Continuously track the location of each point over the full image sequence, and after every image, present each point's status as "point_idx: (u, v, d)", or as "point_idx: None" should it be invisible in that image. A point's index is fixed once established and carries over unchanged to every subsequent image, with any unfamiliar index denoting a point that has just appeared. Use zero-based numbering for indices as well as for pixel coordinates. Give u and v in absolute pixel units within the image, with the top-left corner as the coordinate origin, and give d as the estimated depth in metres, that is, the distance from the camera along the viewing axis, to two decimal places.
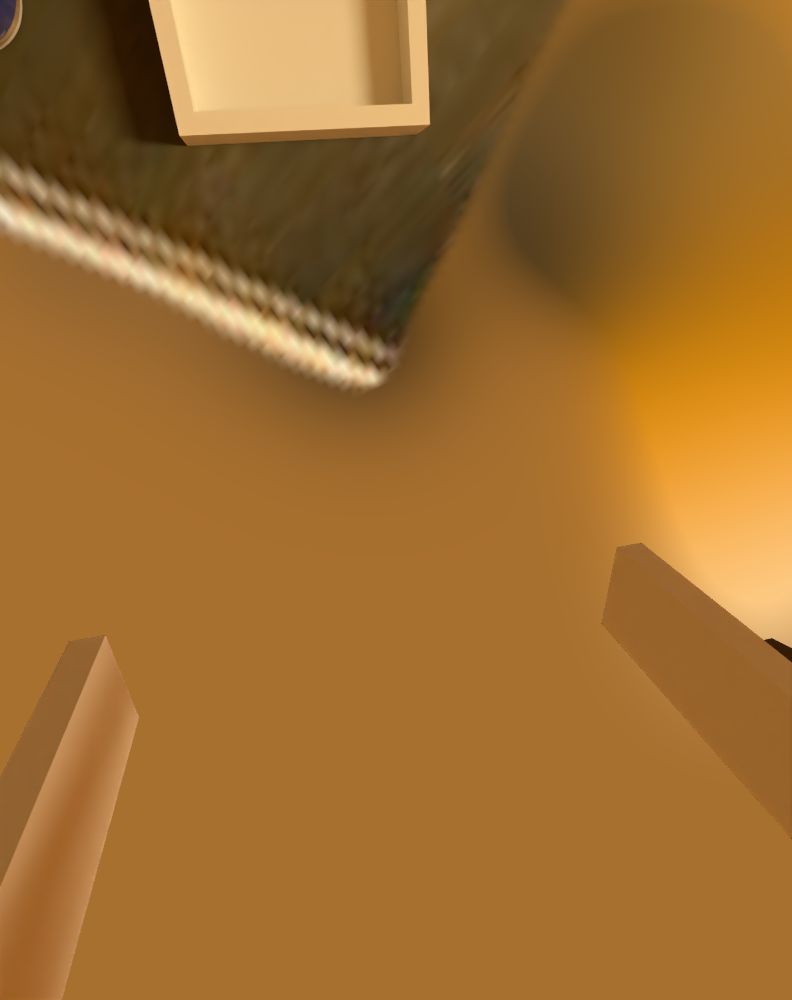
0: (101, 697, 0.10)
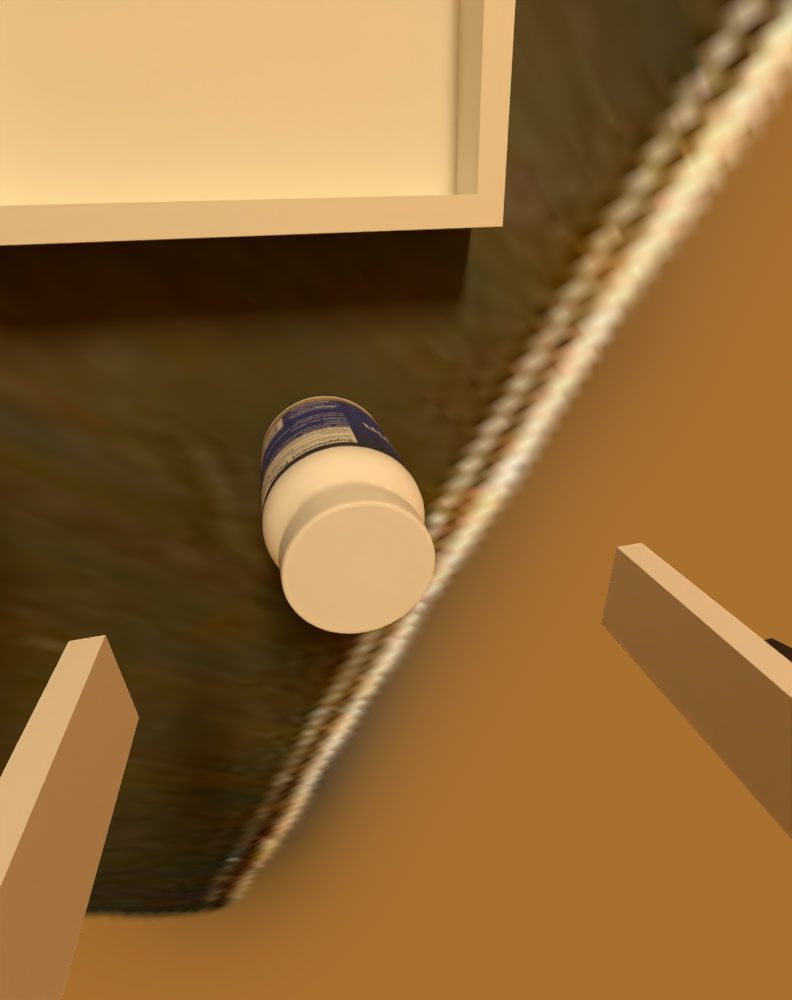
0: (101, 697, 0.10)
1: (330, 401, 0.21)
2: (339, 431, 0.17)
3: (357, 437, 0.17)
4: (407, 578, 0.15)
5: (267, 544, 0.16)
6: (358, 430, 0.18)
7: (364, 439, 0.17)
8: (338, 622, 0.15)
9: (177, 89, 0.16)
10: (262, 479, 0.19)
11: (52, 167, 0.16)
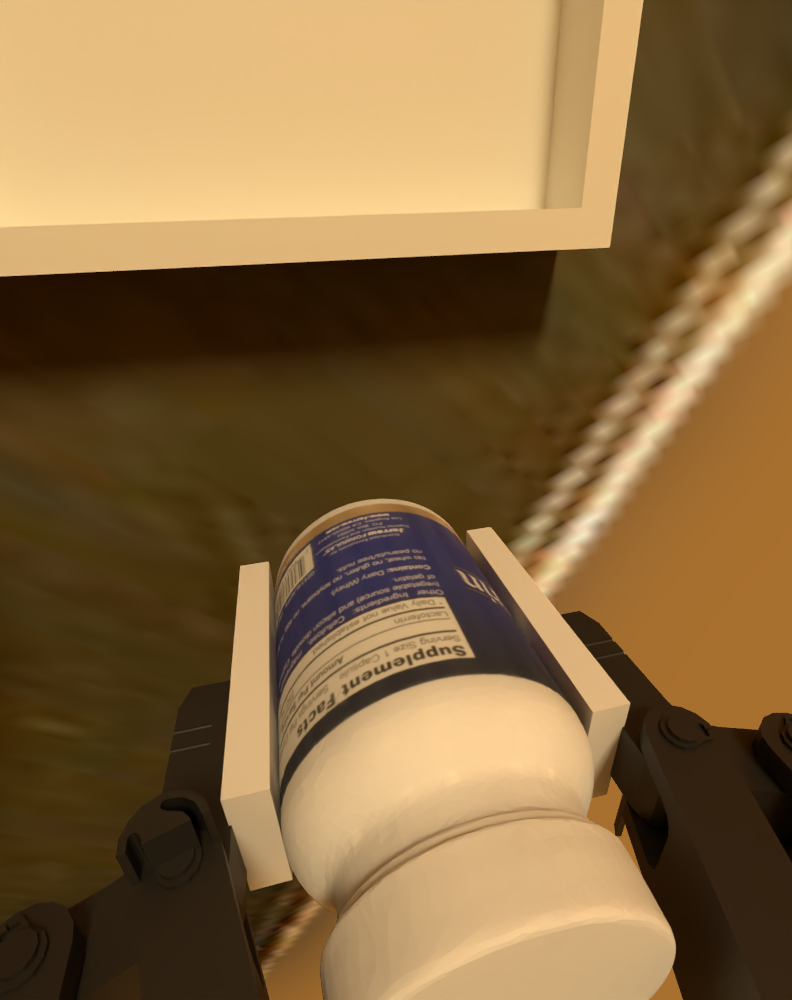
0: (273, 609, 0.13)
1: (391, 515, 0.12)
2: (430, 617, 0.09)
3: (467, 633, 0.09)
4: None
5: (291, 867, 0.08)
6: (460, 604, 0.09)
7: (483, 638, 0.09)
8: None
9: (209, 81, 0.12)
10: (279, 678, 0.10)
11: (53, 179, 0.13)
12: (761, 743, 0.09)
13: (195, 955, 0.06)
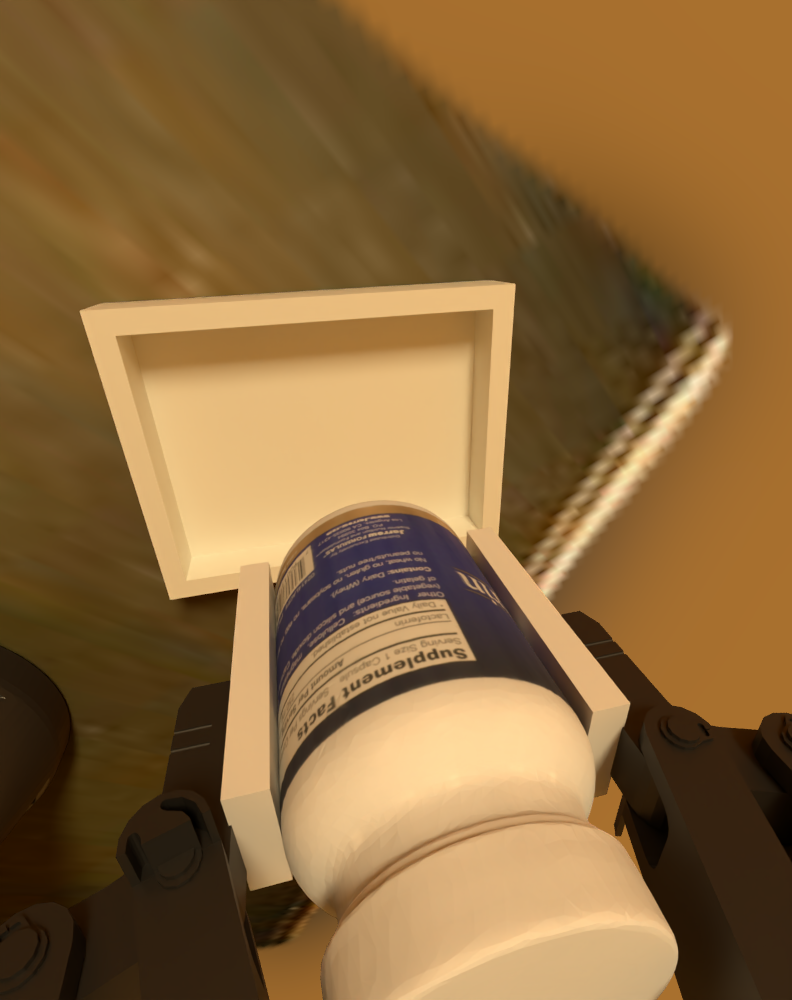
0: (273, 609, 0.13)
1: (391, 516, 0.12)
2: (431, 619, 0.09)
3: (468, 635, 0.09)
4: None
5: (291, 871, 0.08)
6: (461, 607, 0.09)
7: (484, 641, 0.09)
8: None
9: (306, 489, 0.27)
10: (279, 681, 0.10)
11: (233, 532, 0.27)
12: (761, 743, 0.09)
13: (195, 955, 0.06)
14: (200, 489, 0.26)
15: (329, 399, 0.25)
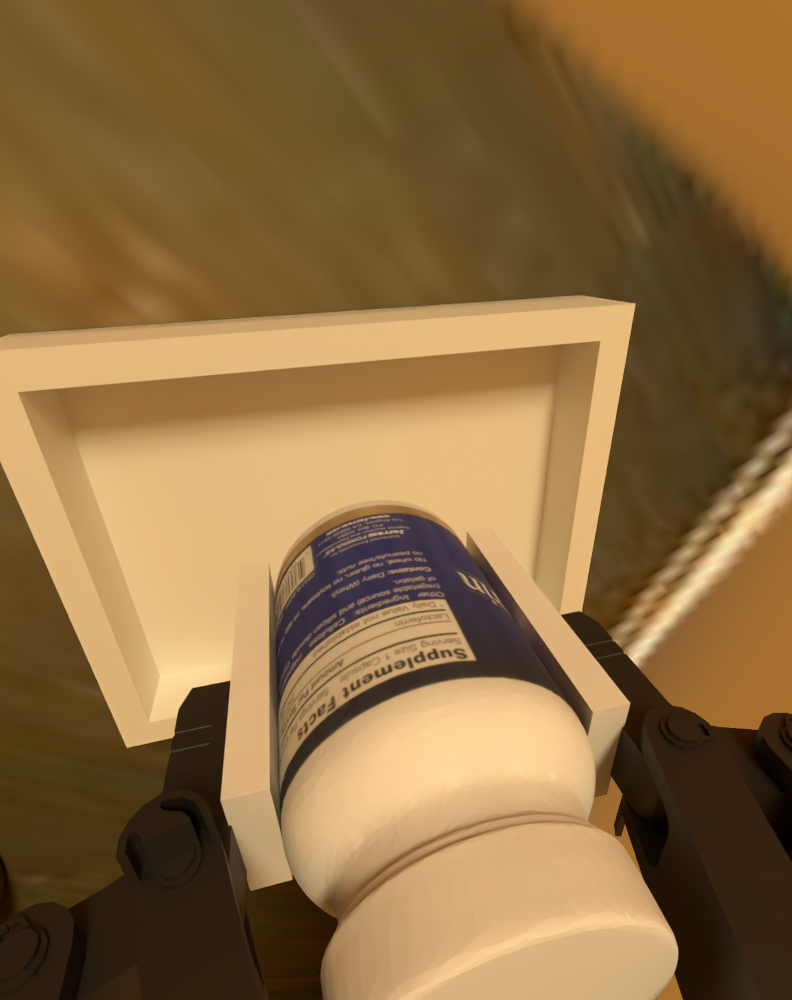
0: (273, 609, 0.13)
1: (391, 516, 0.12)
2: (431, 619, 0.09)
3: (468, 636, 0.09)
4: None
5: (292, 871, 0.08)
6: (461, 607, 0.09)
7: (484, 641, 0.09)
8: None
9: None
10: (279, 681, 0.10)
11: (216, 643, 0.20)
12: (761, 743, 0.09)
13: (195, 955, 0.06)
14: (169, 591, 0.18)
15: (352, 466, 0.18)
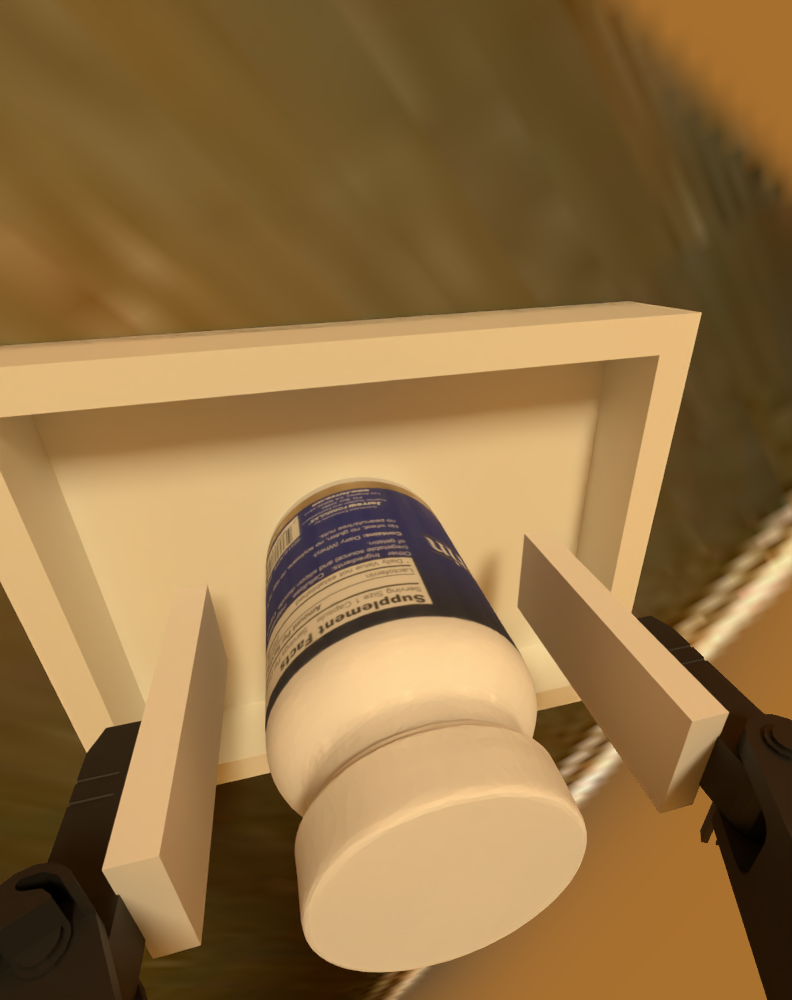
0: (209, 636, 0.12)
1: (370, 490, 0.14)
2: (397, 572, 0.10)
3: (428, 585, 0.10)
4: (533, 884, 0.08)
5: (274, 780, 0.09)
6: (425, 563, 0.11)
7: (441, 590, 0.10)
8: (403, 959, 0.08)
9: None
10: (267, 630, 0.12)
11: None
12: None
13: None
14: (163, 633, 0.16)
15: None
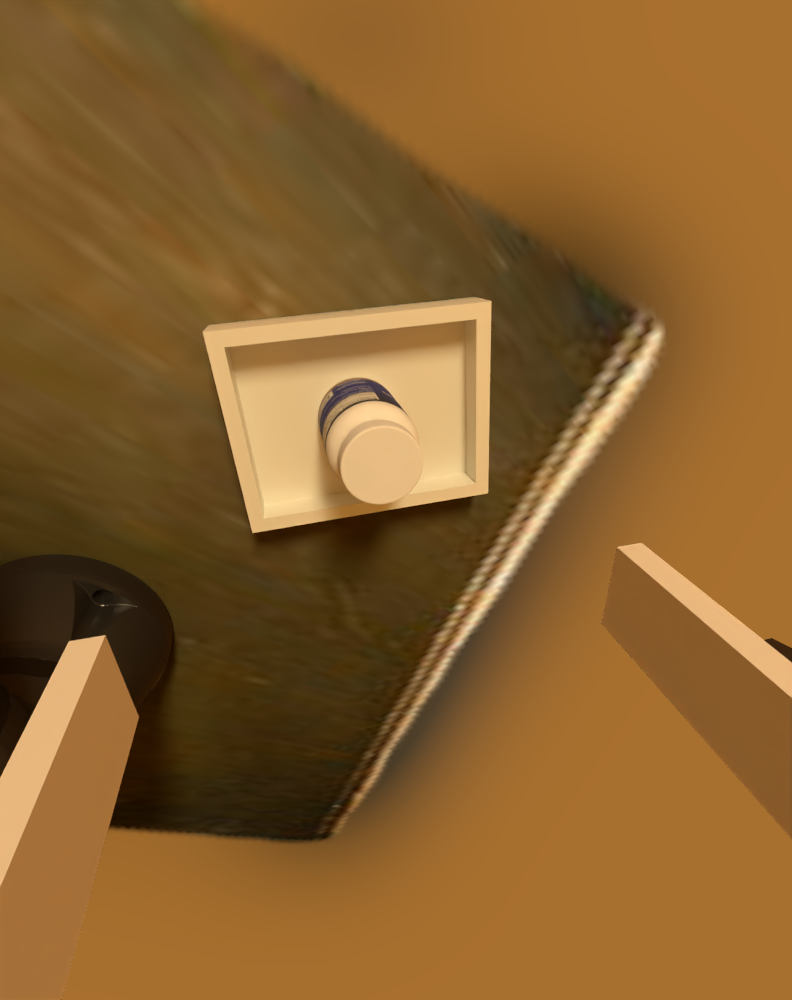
0: (101, 697, 0.10)
1: (361, 379, 0.33)
2: (368, 394, 0.30)
3: (379, 397, 0.30)
4: (408, 471, 0.28)
5: (329, 458, 0.29)
6: (379, 394, 0.30)
7: (383, 398, 0.29)
8: (370, 496, 0.28)
9: None
10: (322, 425, 0.31)
11: (293, 486, 0.37)
12: None
13: None
14: (271, 454, 0.36)
15: None
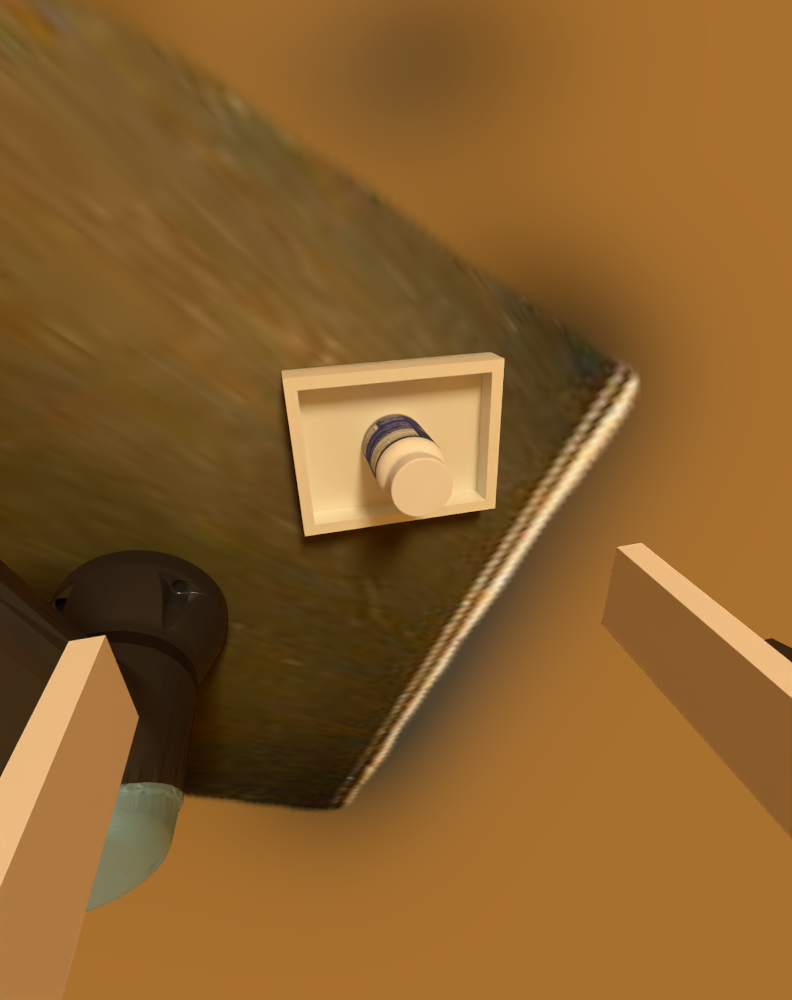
0: (101, 697, 0.10)
1: (399, 416, 0.42)
2: (409, 430, 0.38)
3: (417, 433, 0.38)
4: (441, 492, 0.36)
5: (378, 479, 0.37)
6: (417, 430, 0.39)
7: (421, 434, 0.38)
8: (411, 510, 0.36)
9: None
10: (370, 453, 0.40)
11: (337, 498, 0.45)
12: None
13: None
14: (322, 472, 0.44)
15: None
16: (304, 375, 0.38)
